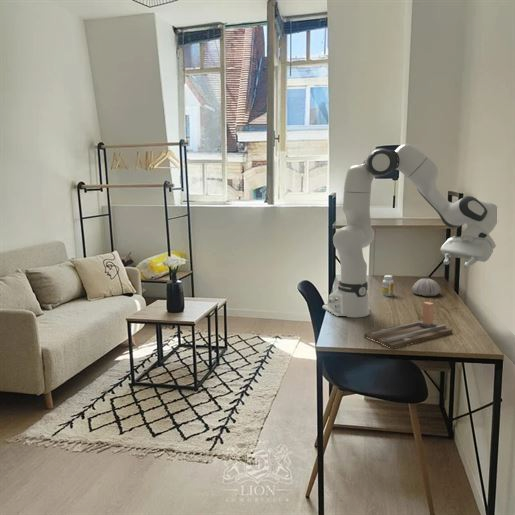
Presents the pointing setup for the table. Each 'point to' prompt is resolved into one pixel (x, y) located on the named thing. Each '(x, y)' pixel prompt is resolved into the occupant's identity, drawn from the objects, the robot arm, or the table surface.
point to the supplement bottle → (387, 285)
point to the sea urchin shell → (426, 287)
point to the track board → (407, 334)
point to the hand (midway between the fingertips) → (455, 265)
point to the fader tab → (428, 315)
